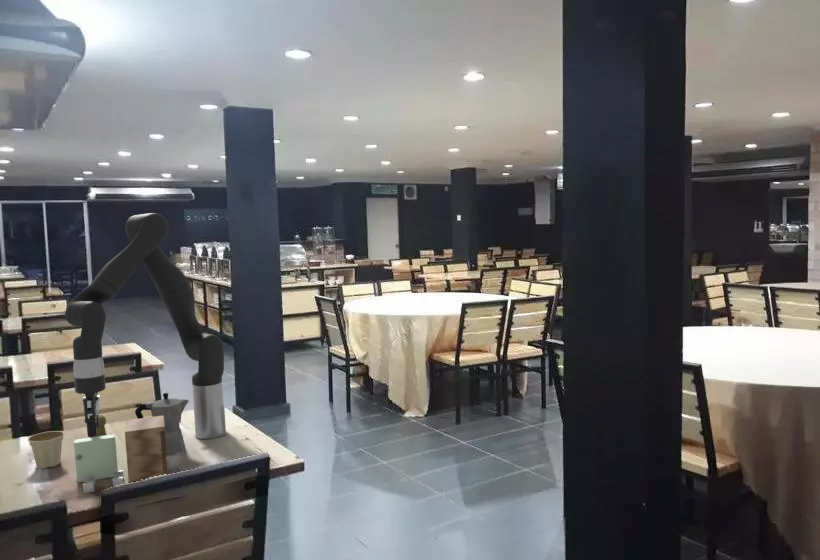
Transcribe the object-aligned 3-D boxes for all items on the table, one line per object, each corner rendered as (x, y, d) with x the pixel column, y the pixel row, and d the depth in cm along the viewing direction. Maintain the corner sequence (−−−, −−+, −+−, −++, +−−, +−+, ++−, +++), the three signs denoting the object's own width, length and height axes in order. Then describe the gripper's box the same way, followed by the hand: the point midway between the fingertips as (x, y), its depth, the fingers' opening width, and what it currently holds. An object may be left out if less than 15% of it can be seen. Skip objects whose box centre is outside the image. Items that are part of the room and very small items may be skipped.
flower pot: (39, 459, 198) (36, 431, 197) (72, 457, 199) (69, 429, 198) (23, 472, 189) (21, 442, 188) (58, 469, 190) (55, 440, 189)
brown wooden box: (166, 462, 193) (163, 415, 191) (168, 475, 182) (164, 426, 181) (129, 468, 189) (125, 420, 187) (128, 482, 179) (124, 431, 177)
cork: (101, 454, 201) (98, 419, 199) (83, 454, 202) (80, 418, 201) (114, 447, 206) (111, 413, 205) (96, 447, 208) (94, 412, 207)
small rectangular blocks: (123, 478, 182) (123, 470, 181) (123, 486, 176) (122, 477, 176) (85, 484, 178) (84, 476, 178) (83, 493, 173) (83, 484, 172)
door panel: (117, 472, 186) (114, 434, 185) (117, 477, 183) (114, 438, 182) (78, 478, 183) (74, 439, 182) (76, 483, 179) (73, 444, 178)
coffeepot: (189, 442, 209) (186, 386, 208) (194, 451, 201) (190, 393, 199) (137, 451, 203) (132, 393, 201) (139, 461, 194) (135, 401, 192)
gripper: (103, 377, 175) (107, 437, 177) (105, 367, 188) (109, 422, 190) (71, 381, 172) (75, 441, 174) (76, 369, 186) (80, 426, 187)
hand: (93, 431), depth 182 cm, fingers open, 8 cm apart
